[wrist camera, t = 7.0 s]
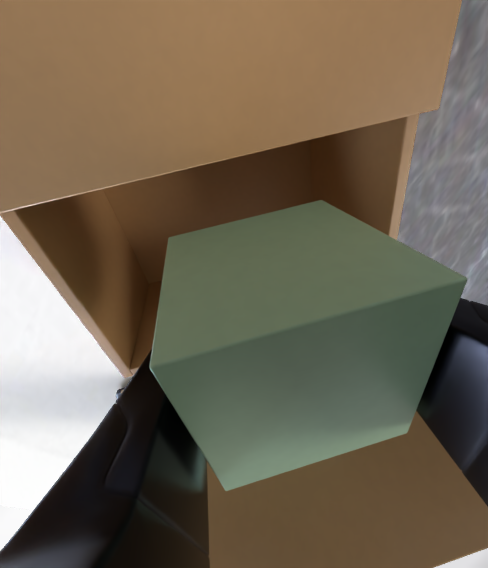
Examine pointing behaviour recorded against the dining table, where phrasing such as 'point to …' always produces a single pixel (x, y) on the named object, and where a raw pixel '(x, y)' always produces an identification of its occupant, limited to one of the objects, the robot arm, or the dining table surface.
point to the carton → (200, 130)
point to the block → (296, 337)
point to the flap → (352, 511)
